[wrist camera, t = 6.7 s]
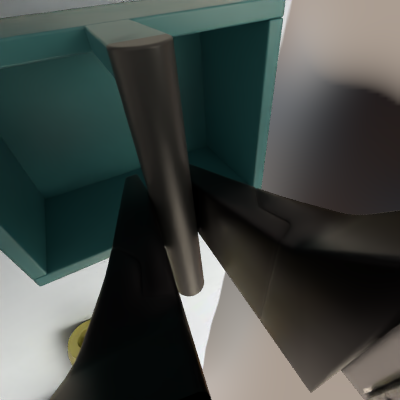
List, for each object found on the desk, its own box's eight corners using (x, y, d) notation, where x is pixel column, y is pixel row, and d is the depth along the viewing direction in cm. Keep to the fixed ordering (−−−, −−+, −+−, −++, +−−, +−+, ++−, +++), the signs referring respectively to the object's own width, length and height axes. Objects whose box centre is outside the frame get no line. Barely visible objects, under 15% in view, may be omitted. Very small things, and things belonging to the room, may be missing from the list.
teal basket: (211, 147, 18) (307, 237, 12) (39, 205, 15) (40, 375, 8) (203, -9, 12) (395, -2, 6) (-89, 30, 9) (-447, 156, 2)
